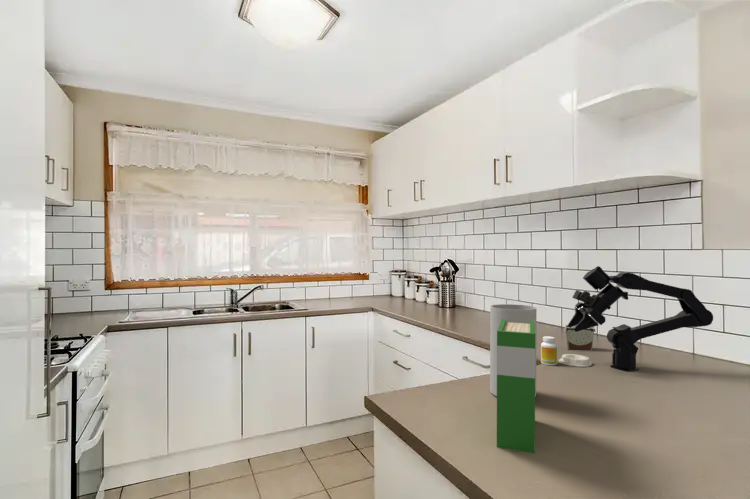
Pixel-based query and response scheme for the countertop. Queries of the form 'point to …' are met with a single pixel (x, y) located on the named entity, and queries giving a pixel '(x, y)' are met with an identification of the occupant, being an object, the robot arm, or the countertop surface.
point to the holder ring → (575, 360)
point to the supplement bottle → (548, 351)
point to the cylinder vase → (496, 315)
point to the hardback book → (516, 386)
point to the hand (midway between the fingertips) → (571, 328)
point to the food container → (579, 338)
